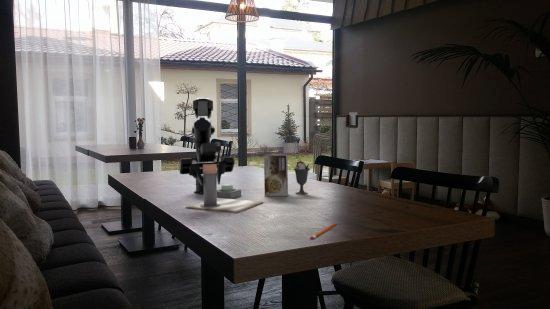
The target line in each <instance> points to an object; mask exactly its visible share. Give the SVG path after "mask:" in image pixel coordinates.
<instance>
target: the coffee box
mask: <svg viewBox="0 0 550 309" xmlns="http://www.w3.org/2000/svg"><path fill="white" fill-rule="evenodd" d="M288 162H289V161H288V154H287V153H280V154H279V153H277V154H276V153H275V154H272V153H271V154H270V153H269V154H264V155H263V169H264V170H263V173H264V175H263V179H264V180H263V181H264V183H263V184H264V185H263V186H264V194H263V195H264V197H287V196H288V195H289V181H288V180H289V178H288V177H289V173H288V172H289V171H288V170H289V169H288V166H289V165H288Z"/></svg>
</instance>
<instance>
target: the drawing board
mask: <svg viewBox="0 0 550 309" xmlns="http://www.w3.org/2000/svg"><path fill="white" fill-rule="evenodd" d="M261 204H264V201H261V200H249V199H246V200H245V199H235V198H232V199H225V198H217V205H216V206H204V201H201V202H200V201H199V202H198V203H193V204H190V205H187V206H185V208H186V209H191V210H201V211H210V212H211V211H212V212H222V213H230V214H231V213H233V214H238V213H241V212H243V211H247V210H250V209H251V208H254V207H257V206H259V205H261Z"/></svg>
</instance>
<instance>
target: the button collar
mask: <svg viewBox="0 0 550 309" xmlns="http://www.w3.org/2000/svg"><path fill="white" fill-rule="evenodd" d="M241 196H242V189H241V188H233V191H231V192H226V191H222V188H220V189H217V198H224V199H235V198H238V197H241Z"/></svg>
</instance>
